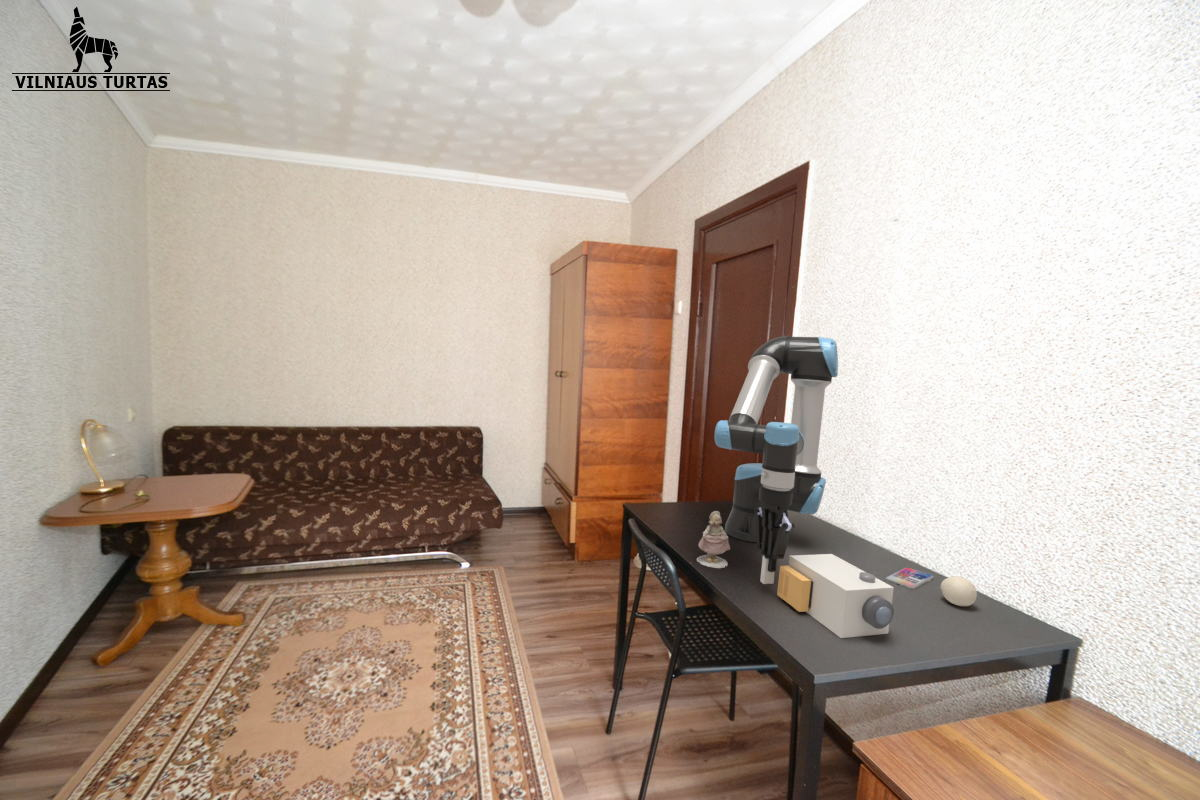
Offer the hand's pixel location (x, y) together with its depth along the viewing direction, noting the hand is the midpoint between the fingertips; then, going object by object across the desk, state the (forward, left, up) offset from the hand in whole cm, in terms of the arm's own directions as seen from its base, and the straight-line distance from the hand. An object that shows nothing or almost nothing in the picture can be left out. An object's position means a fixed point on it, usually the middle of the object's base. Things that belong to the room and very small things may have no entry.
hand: (766, 582), depth 120 cm
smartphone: (-2, +46, -3) cm, 46 cm away
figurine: (-18, -6, -2) cm, 19 cm away
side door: (+8, +1, -2) cm, 8 cm away
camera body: (+14, +9, -2) cm, 17 cm away
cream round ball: (+12, +45, -2) cm, 47 cm away
